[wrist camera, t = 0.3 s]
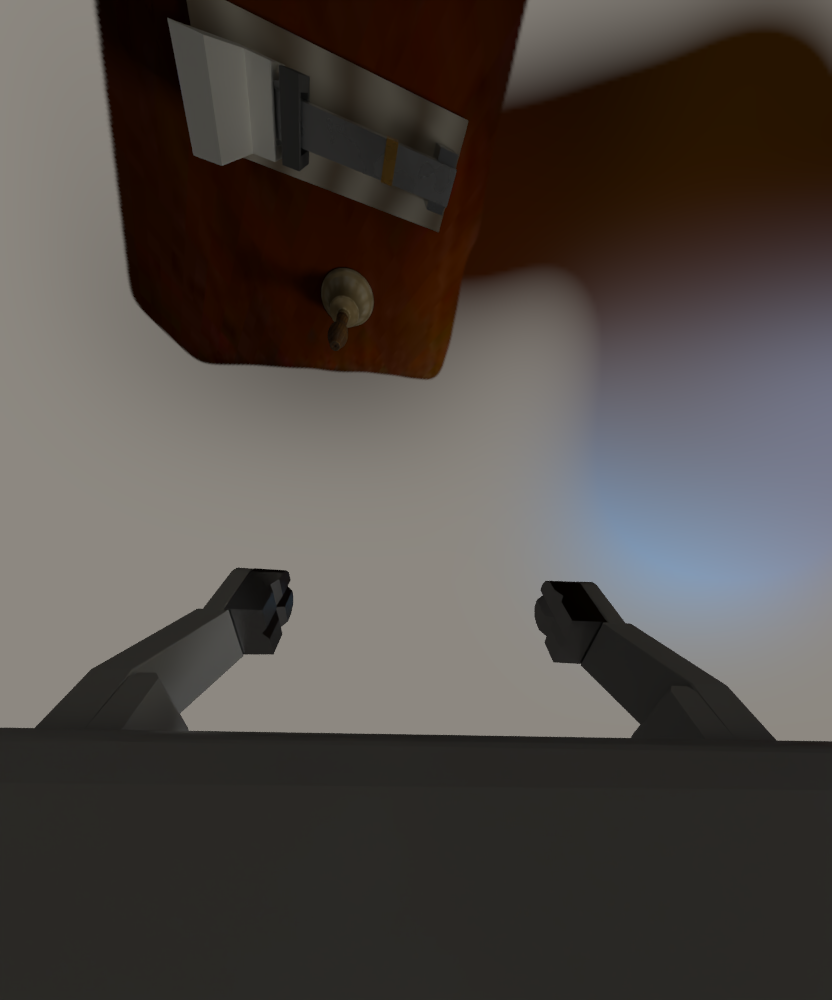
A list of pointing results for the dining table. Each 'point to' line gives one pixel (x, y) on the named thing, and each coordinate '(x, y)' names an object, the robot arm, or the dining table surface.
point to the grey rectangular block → (226, 96)
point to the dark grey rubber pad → (292, 116)
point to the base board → (343, 108)
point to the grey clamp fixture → (376, 154)
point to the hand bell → (345, 303)
